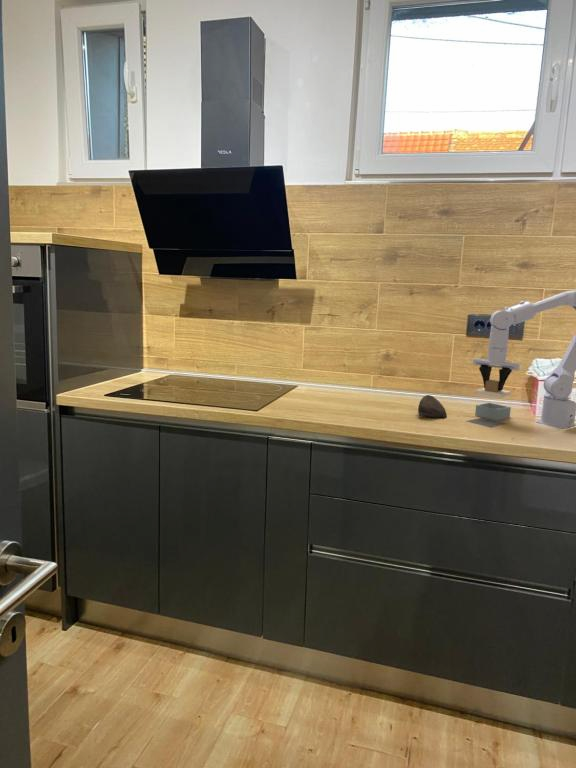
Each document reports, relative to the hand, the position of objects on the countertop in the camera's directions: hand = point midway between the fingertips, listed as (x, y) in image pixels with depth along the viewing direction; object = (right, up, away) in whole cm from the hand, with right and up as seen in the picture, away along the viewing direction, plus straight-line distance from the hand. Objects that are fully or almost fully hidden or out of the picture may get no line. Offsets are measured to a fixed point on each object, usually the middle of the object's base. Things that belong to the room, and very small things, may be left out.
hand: (493, 389), depth 186 cm
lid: (0, -2, 0) cm, 2 cm away
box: (+1, -10, +5) cm, 11 cm away
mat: (-4, -11, -4) cm, 12 cm away
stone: (-20, -10, +2) cm, 22 cm away
